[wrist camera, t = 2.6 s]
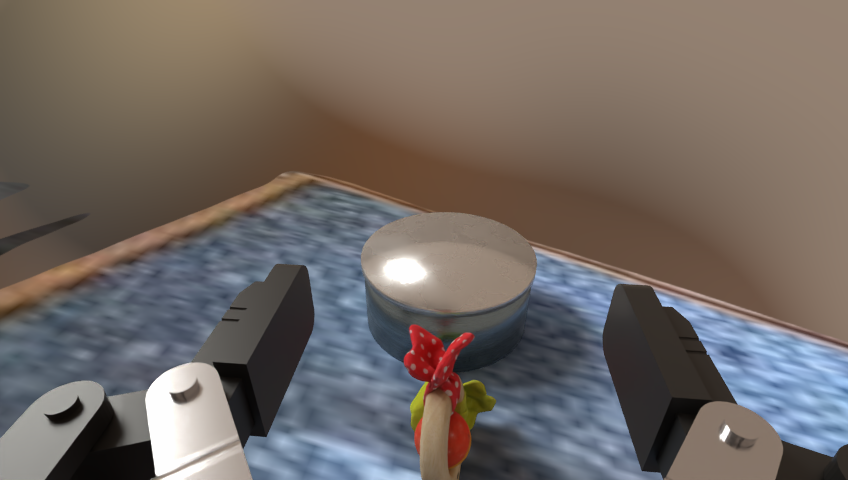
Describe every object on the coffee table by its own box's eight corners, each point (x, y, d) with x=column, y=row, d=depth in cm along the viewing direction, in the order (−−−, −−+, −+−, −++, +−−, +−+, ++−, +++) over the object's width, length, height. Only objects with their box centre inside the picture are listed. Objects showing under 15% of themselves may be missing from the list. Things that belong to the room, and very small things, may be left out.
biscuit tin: (535, 382, 38) (547, 316, 34) (348, 367, 39) (341, 302, 36) (520, 272, 51) (528, 216, 47) (381, 264, 52) (378, 208, 49)
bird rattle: (492, 511, 31) (495, 377, 36) (509, 488, 22) (510, 314, 27) (399, 500, 32) (415, 370, 37) (378, 473, 23) (403, 305, 28)
